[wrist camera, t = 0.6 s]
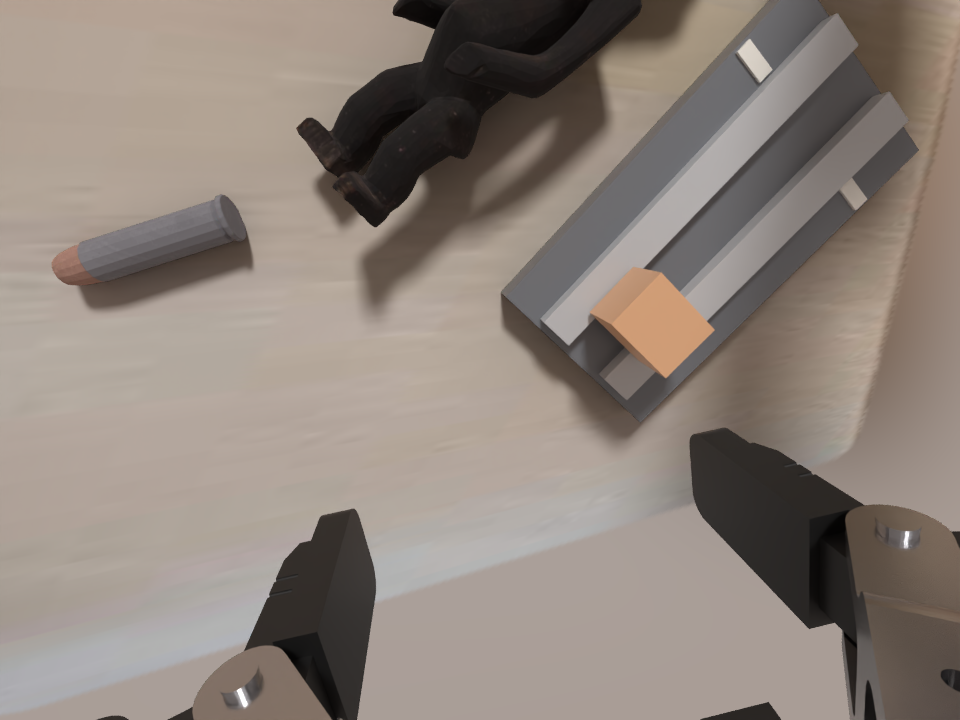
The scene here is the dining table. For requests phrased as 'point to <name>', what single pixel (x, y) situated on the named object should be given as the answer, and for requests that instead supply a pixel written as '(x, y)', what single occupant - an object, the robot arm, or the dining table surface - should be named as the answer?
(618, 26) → the figurine
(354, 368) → the dining table surface
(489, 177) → the dining table surface
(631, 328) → the block
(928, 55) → the dining table surface
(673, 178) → the twin slider track
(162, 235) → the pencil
